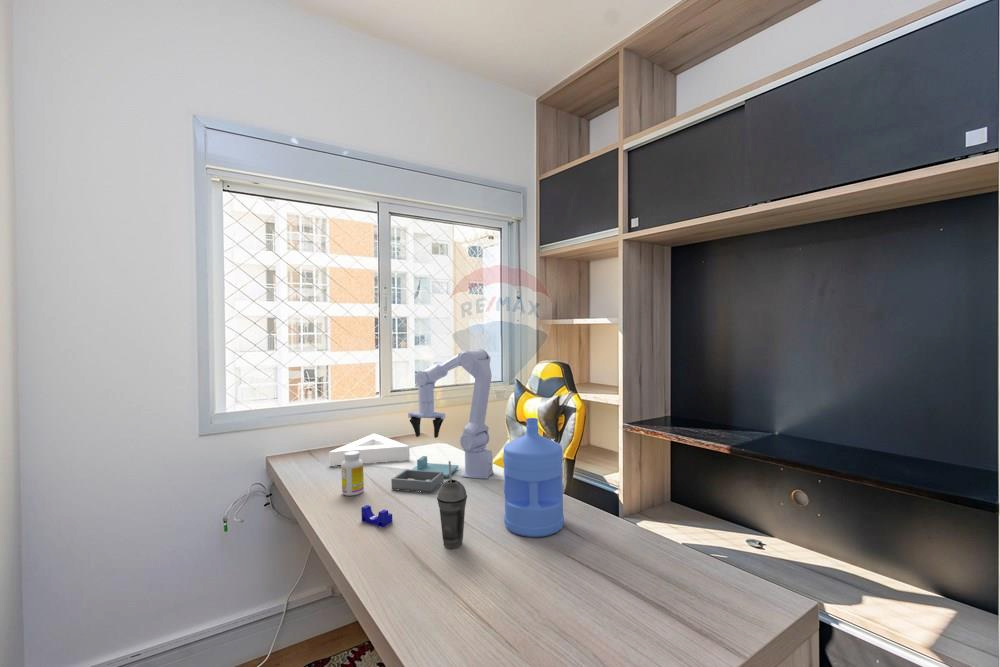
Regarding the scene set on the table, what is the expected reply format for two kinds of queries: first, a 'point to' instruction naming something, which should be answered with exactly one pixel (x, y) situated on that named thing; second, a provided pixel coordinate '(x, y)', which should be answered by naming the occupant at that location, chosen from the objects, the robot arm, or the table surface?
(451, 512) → the beverage cup
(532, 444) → the water jug
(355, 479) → the supplement bottle
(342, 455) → the triangular ruler
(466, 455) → the robot arm
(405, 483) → the tub
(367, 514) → the cable holder
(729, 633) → the table surface
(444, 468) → the lid
